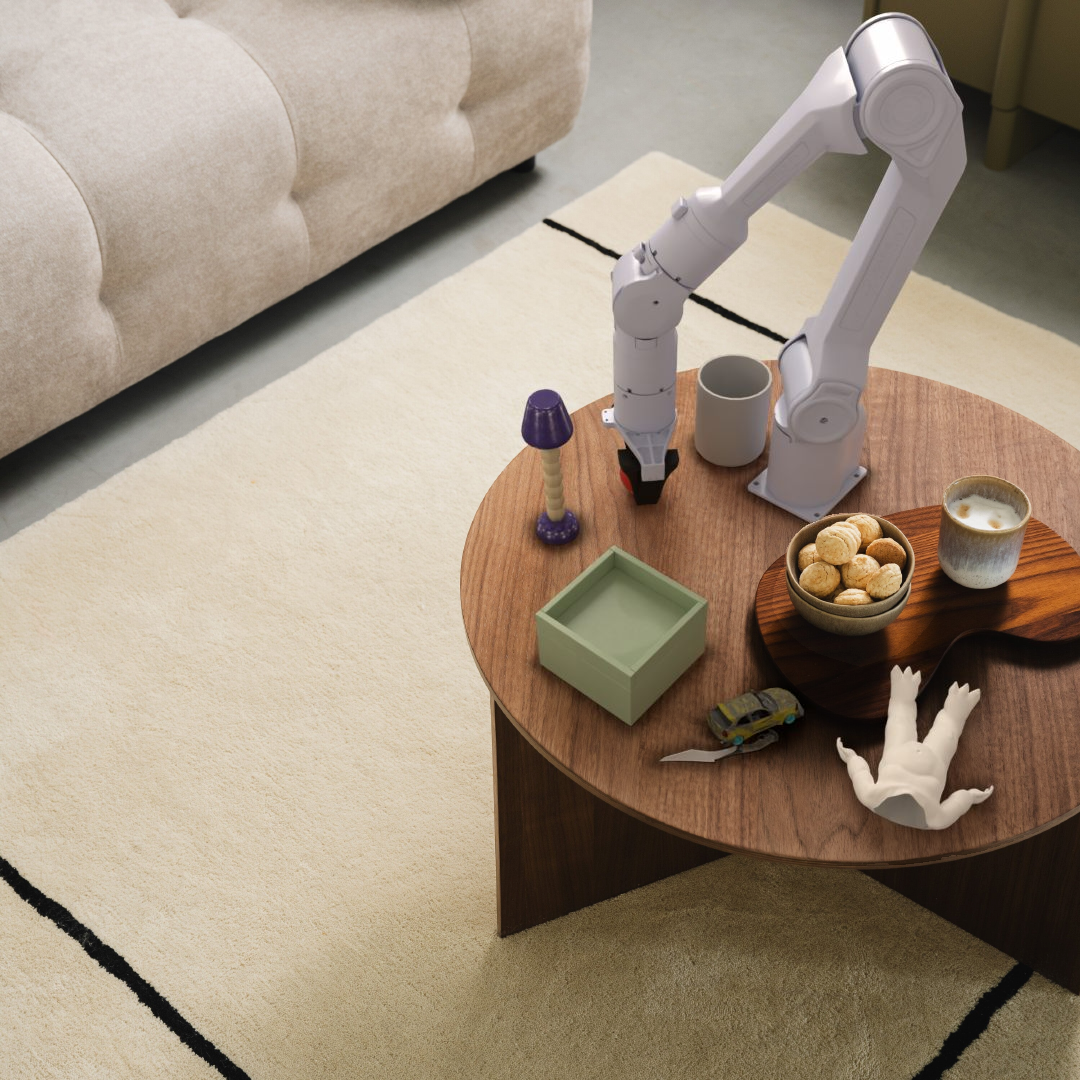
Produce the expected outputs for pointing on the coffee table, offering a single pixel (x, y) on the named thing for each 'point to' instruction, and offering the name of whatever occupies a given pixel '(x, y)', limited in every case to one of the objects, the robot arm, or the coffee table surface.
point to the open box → (622, 633)
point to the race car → (752, 714)
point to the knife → (711, 756)
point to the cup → (732, 409)
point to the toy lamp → (550, 462)
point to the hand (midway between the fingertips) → (643, 484)
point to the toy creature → (916, 760)
